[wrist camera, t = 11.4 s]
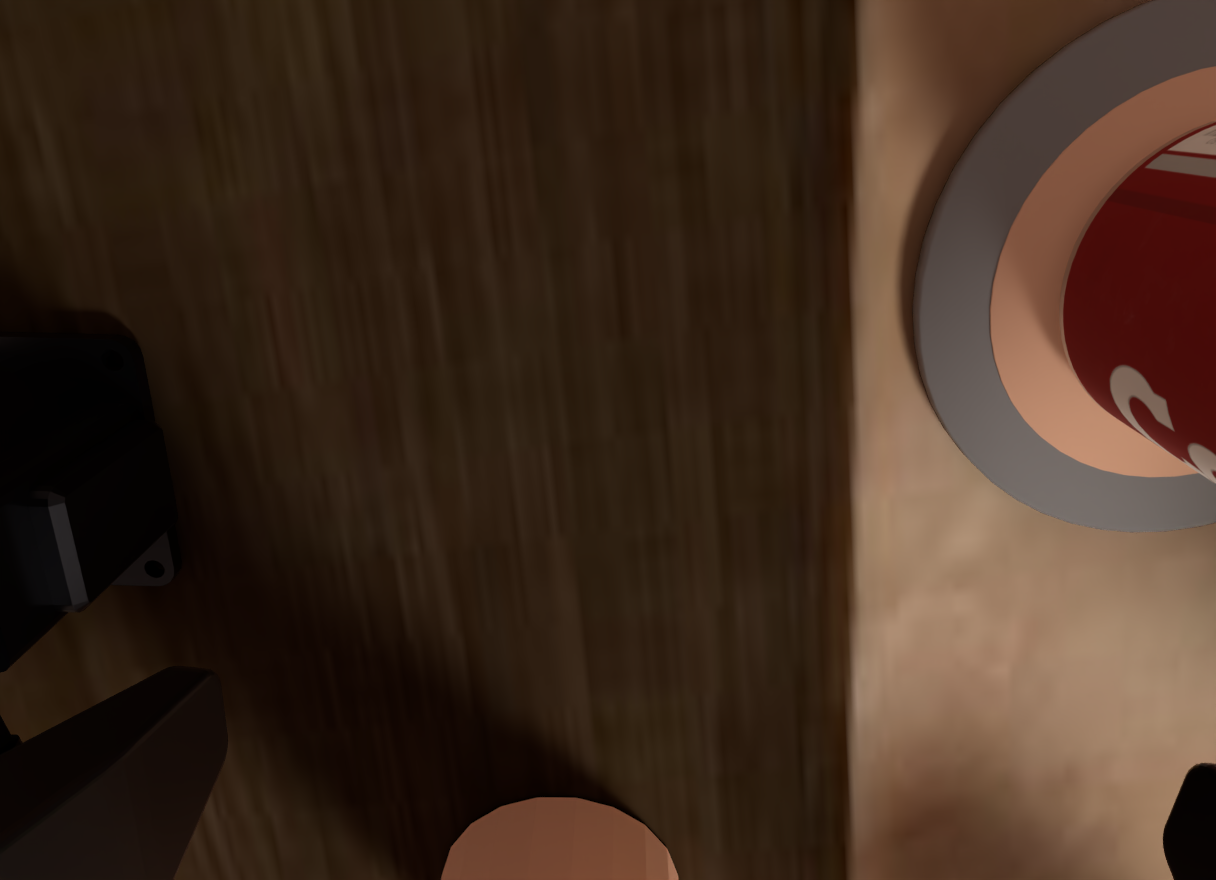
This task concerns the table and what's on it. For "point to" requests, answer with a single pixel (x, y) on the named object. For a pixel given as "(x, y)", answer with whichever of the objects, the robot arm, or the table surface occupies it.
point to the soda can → (1151, 300)
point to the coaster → (1057, 271)
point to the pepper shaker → (558, 844)
